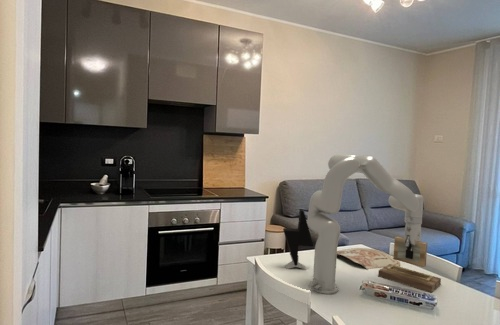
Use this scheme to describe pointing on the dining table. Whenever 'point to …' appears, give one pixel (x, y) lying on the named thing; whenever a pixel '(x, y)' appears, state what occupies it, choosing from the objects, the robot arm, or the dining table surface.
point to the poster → (369, 257)
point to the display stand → (410, 278)
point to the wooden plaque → (418, 250)
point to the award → (298, 240)
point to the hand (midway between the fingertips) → (410, 257)
